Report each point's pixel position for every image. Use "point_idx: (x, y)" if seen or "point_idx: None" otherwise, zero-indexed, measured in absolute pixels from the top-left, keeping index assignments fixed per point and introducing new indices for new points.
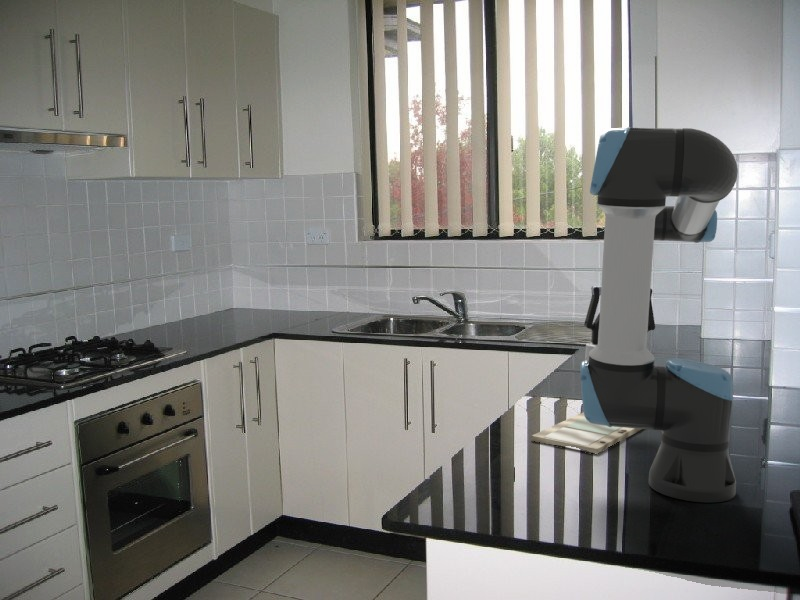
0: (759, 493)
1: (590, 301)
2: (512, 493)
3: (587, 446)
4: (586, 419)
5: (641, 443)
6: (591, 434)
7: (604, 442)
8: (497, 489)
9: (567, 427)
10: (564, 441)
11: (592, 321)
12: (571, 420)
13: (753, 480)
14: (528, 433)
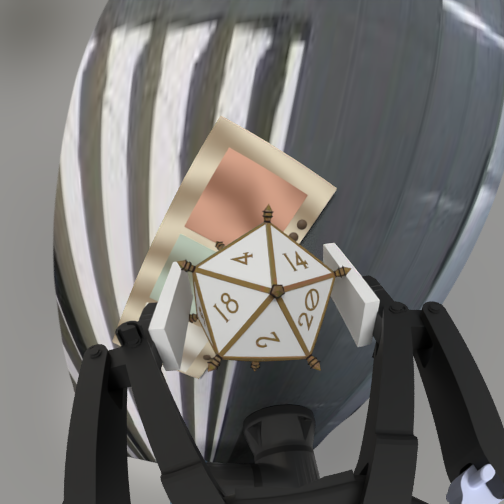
0: (331, 416)
1: (66, 464)
2: (139, 434)
3: (186, 372)
4: (185, 245)
5: None
6: (191, 331)
7: (209, 359)
8: (127, 430)
9: (153, 299)
10: None
11: (124, 405)
12: (157, 254)
13: (345, 396)
14: (102, 305)
